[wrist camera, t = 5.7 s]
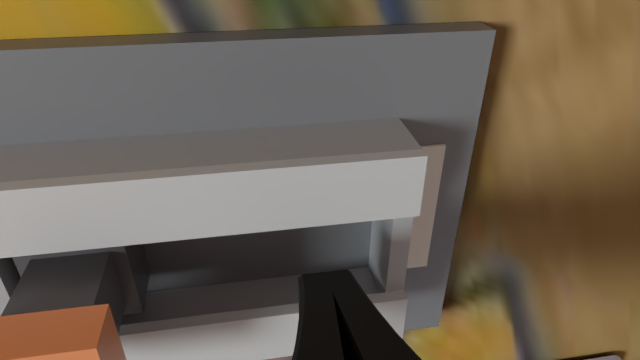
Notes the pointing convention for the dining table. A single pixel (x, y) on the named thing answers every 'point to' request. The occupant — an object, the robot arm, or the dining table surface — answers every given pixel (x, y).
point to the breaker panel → (264, 96)
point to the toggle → (73, 304)
